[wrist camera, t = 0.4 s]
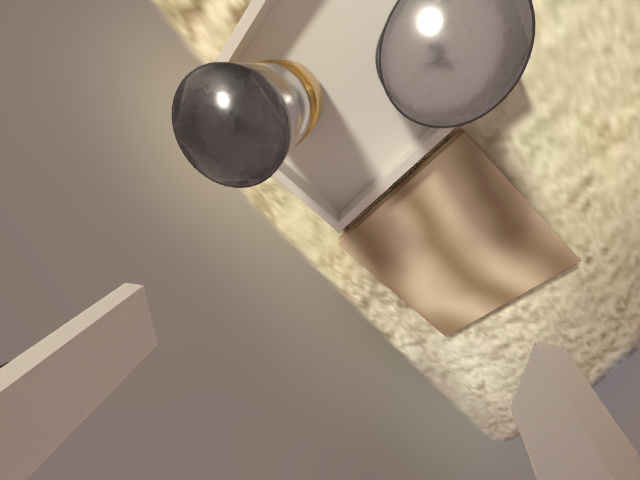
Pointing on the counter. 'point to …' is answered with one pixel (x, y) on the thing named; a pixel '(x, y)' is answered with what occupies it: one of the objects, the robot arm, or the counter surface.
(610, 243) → the counter surface
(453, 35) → the clear grey lidded jar
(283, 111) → the lidded honey jar
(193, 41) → the counter surface
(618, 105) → the counter surface
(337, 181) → the white shaker tray
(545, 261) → the board
